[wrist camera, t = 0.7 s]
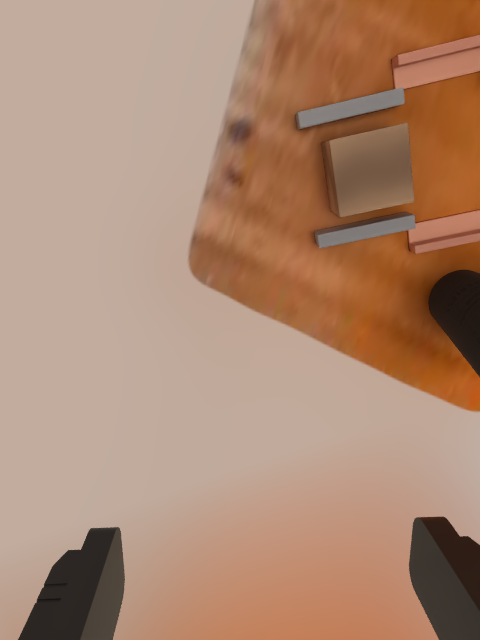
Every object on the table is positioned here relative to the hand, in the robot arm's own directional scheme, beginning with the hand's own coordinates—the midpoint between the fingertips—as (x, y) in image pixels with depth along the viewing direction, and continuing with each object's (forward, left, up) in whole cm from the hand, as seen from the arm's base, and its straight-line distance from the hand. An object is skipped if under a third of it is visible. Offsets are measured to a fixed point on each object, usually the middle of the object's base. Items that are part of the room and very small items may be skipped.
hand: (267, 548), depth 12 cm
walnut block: (-7, +9, -26) cm, 29 cm away
